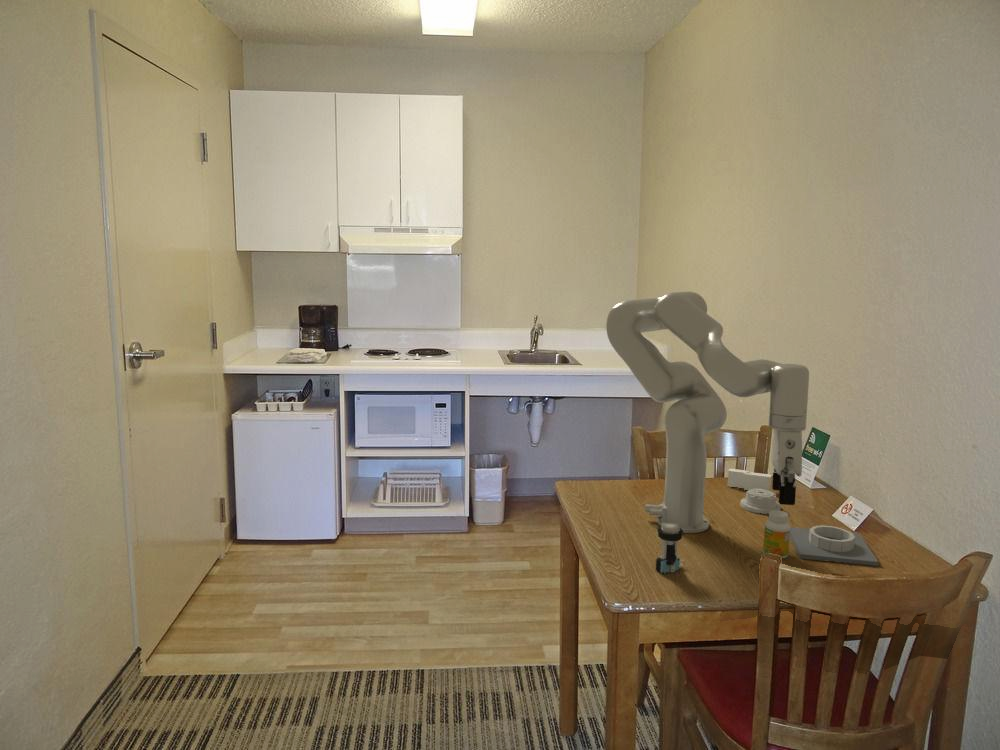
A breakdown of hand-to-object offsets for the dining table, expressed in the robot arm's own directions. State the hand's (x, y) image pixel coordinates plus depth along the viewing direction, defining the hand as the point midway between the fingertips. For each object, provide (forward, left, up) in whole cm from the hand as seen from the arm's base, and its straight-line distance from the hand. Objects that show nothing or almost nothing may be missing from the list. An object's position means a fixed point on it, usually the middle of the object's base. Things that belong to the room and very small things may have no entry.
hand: (783, 496), depth 159 cm
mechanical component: (0, +31, -14) cm, 34 cm away
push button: (-24, -14, -14) cm, 31 cm away
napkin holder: (-2, +46, -14) cm, 48 cm away
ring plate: (+12, +7, -14) cm, 20 cm away
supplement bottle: (-1, 0, -14) cm, 14 cm away
